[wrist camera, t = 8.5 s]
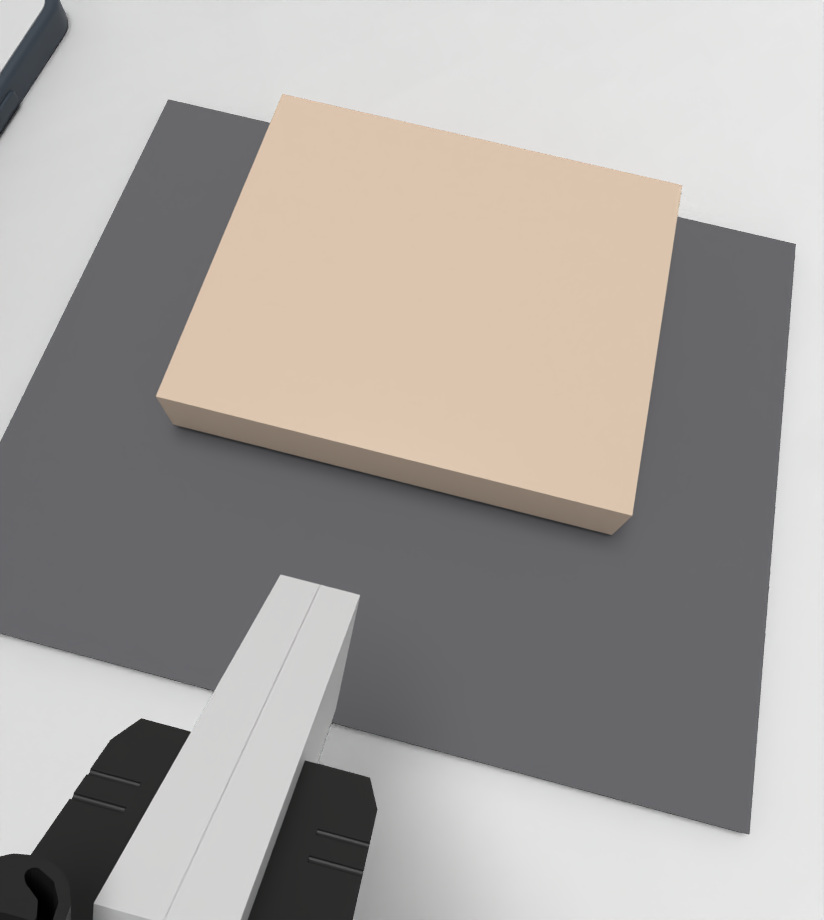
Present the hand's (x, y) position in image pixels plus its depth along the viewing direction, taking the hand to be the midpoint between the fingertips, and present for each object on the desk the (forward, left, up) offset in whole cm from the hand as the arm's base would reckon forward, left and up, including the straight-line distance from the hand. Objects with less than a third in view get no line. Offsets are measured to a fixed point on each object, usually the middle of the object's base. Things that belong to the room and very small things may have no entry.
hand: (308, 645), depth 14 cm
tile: (-5, +3, -7) cm, 9 cm away
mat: (-8, +5, -8) cm, 12 cm away
